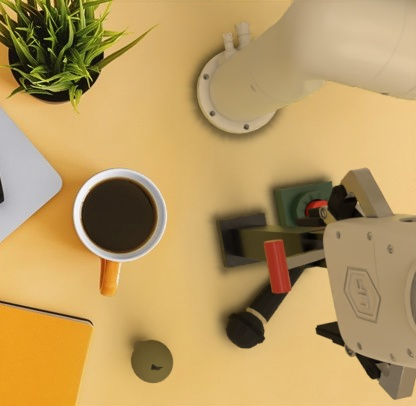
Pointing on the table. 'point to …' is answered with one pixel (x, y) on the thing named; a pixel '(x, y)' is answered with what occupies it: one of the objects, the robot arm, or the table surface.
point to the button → (315, 205)
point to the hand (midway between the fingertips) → (320, 272)
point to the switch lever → (286, 263)
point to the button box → (299, 200)
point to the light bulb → (151, 361)
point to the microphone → (257, 315)
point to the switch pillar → (259, 233)
